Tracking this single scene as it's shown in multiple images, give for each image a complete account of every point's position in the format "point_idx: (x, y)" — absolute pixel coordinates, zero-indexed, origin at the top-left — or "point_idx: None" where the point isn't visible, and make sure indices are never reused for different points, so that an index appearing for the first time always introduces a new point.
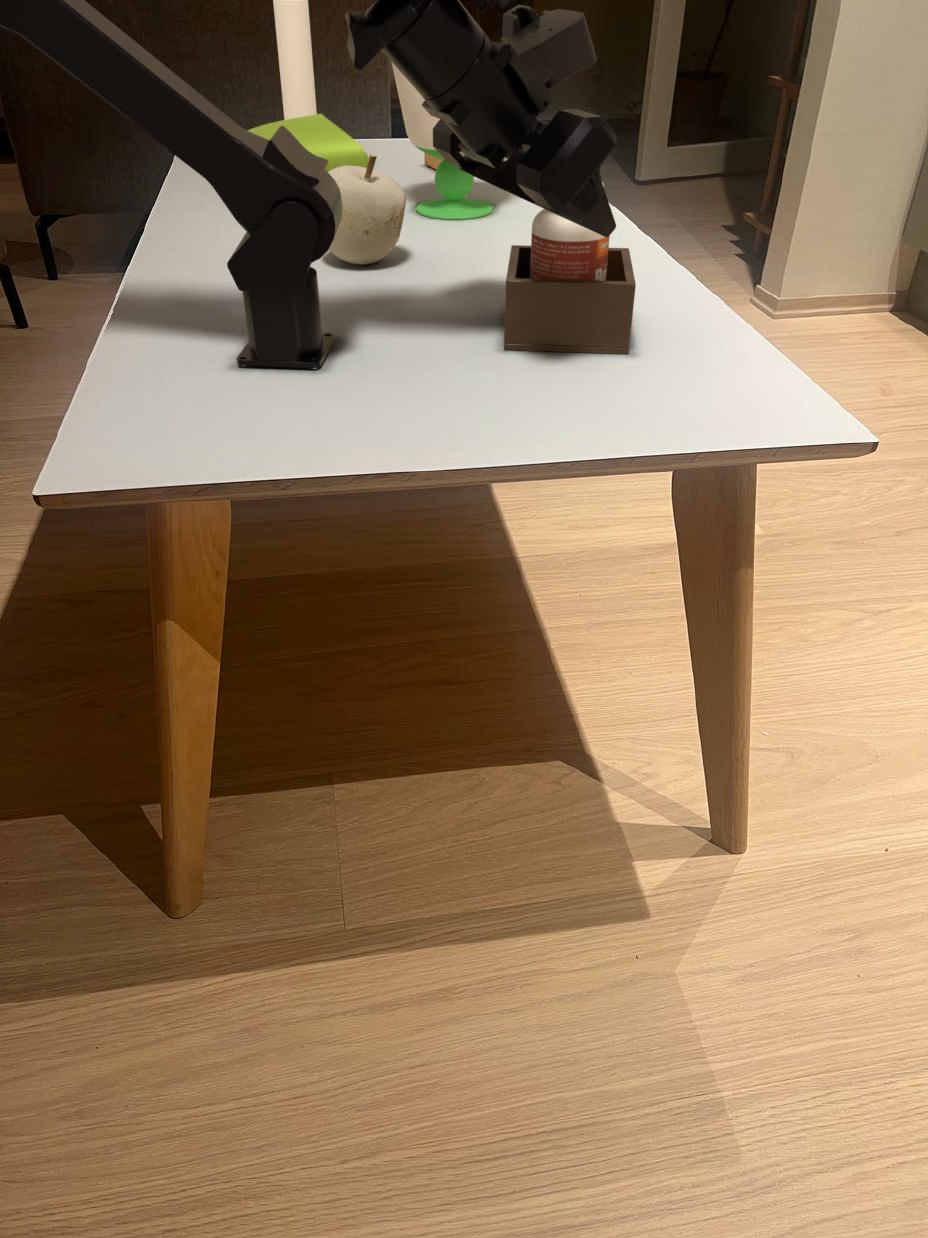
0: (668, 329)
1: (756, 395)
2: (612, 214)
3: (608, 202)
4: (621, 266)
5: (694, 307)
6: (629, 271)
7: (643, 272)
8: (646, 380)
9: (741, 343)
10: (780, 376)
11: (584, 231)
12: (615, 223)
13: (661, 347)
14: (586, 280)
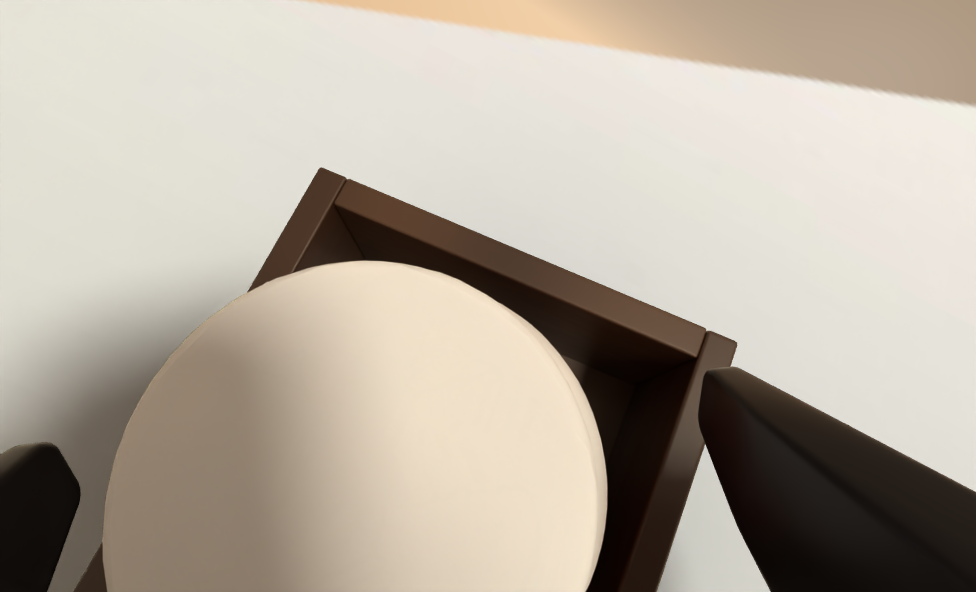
0: (520, 199)
1: (957, 220)
2: (810, 406)
3: (908, 458)
4: (424, 252)
5: (395, 68)
6: (590, 294)
7: (88, 52)
8: (835, 415)
9: (656, 93)
10: (861, 120)
11: (606, 498)
12: (751, 375)
13: (633, 274)
14: (653, 502)
